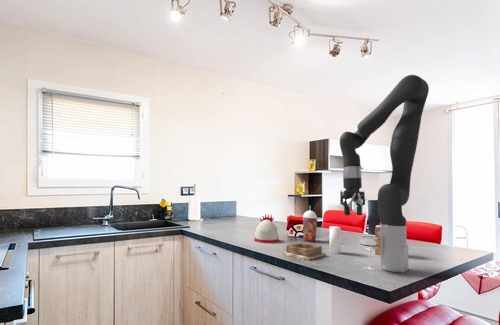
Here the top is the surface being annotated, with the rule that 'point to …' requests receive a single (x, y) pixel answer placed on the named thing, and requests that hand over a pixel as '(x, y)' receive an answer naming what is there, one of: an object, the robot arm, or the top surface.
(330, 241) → the paper roll
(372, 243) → the wineglass
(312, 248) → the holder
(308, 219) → the smoothie
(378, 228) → the small box
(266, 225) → the kitchen timer
